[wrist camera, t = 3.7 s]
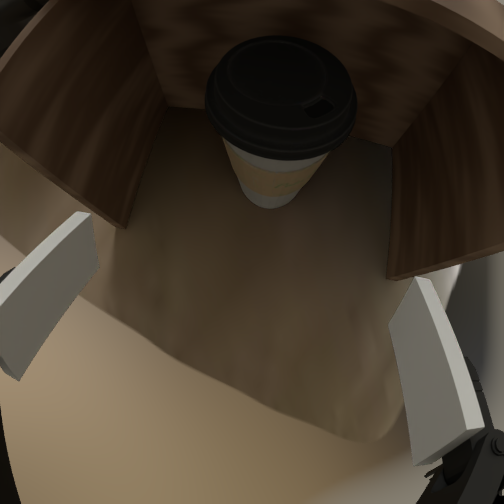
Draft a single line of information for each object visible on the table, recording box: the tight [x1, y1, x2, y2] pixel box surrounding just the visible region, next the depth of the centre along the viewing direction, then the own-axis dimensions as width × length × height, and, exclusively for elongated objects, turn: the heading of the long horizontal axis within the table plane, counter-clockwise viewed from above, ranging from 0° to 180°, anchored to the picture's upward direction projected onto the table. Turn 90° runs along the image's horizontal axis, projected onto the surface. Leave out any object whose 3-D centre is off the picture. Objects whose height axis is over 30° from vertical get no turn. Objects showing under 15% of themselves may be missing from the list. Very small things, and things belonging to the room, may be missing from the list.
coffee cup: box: [205, 35, 358, 209], centre depth 22 cm, size 9×9×15 cm
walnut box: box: [0, 0, 504, 281], centre depth 19 cm, size 28×16×22 cm, turn 79°
